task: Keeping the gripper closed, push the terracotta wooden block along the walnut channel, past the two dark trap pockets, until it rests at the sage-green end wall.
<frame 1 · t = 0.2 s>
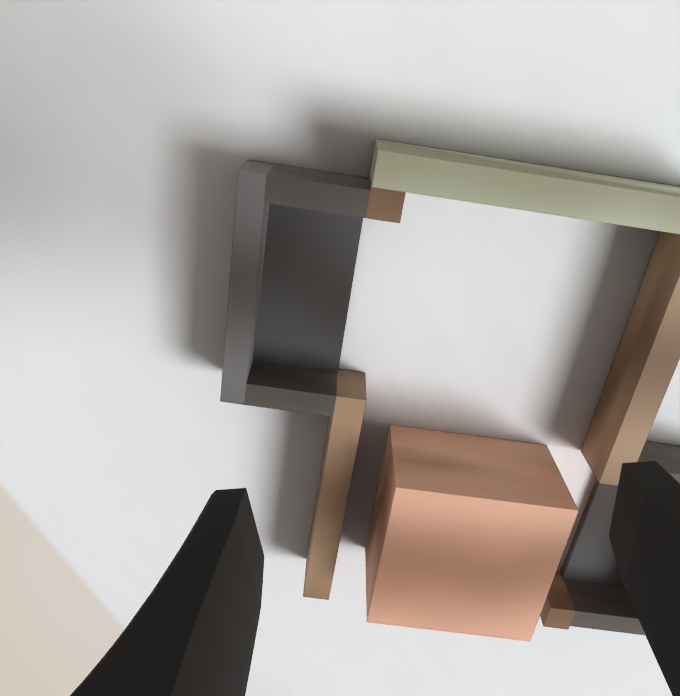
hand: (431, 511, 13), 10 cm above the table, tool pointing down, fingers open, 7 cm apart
block: (451, 495, 26), on the table
trap box: (452, 499, 25), on the table
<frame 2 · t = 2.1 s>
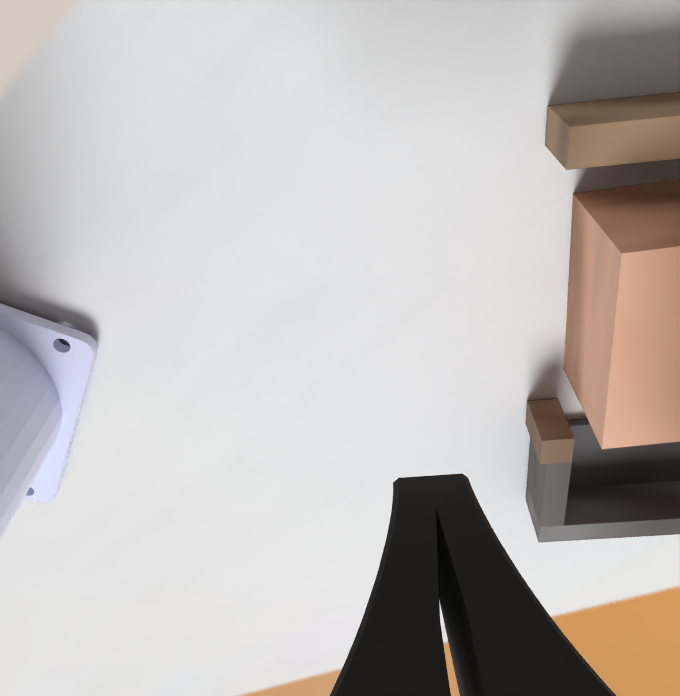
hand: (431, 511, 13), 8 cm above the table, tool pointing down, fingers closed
block: (668, 273, 19), on the table
trap box: (672, 276, 19), on the table
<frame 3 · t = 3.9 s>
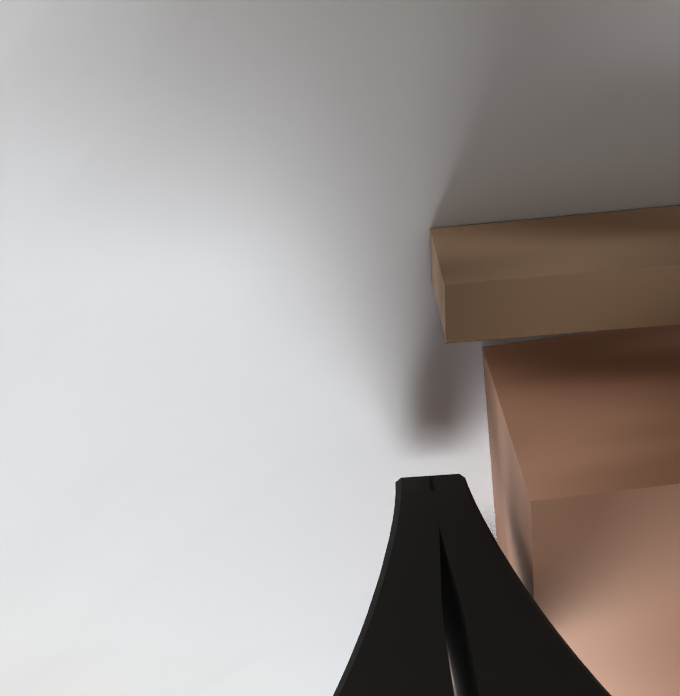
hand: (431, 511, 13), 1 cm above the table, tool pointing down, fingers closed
block: (632, 439, 14), on the table, touching gripper
trap box: (628, 446, 13), on the table
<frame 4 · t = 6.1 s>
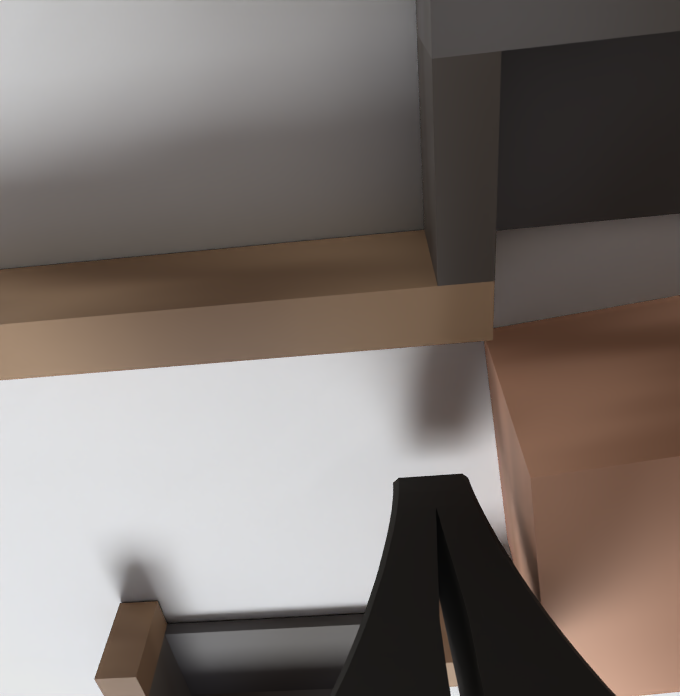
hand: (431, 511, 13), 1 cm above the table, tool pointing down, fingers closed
block: (640, 419, 13), on the table
trap box: (239, 473, 14), on the table
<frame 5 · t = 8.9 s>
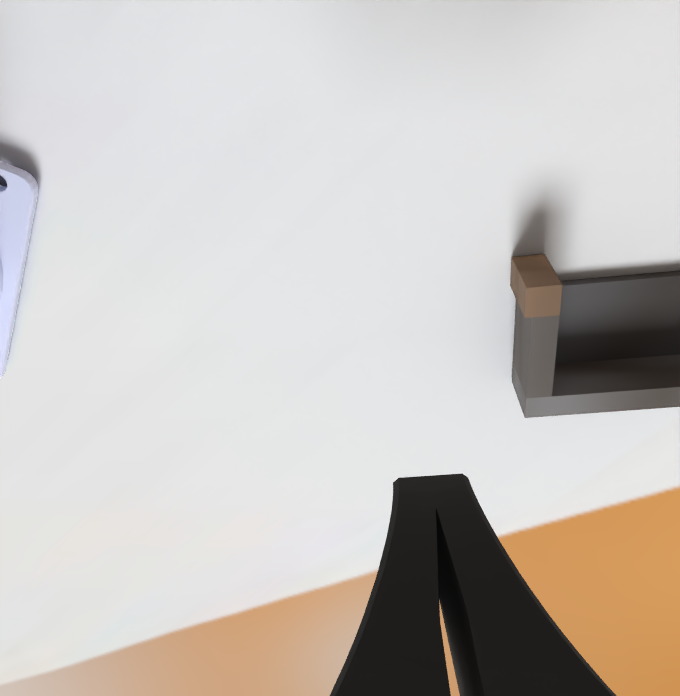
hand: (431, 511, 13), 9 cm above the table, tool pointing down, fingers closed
trap box: (669, 97, 17), on the table
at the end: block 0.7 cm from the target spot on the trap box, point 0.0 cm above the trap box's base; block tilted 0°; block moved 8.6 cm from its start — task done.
